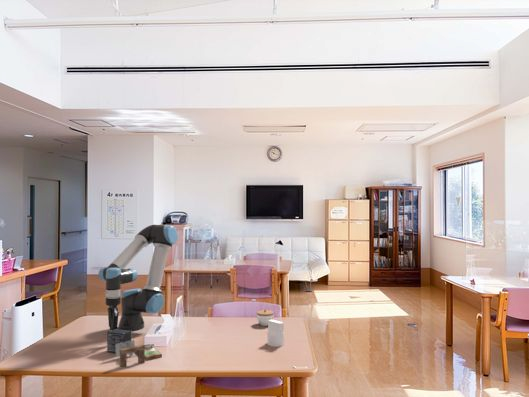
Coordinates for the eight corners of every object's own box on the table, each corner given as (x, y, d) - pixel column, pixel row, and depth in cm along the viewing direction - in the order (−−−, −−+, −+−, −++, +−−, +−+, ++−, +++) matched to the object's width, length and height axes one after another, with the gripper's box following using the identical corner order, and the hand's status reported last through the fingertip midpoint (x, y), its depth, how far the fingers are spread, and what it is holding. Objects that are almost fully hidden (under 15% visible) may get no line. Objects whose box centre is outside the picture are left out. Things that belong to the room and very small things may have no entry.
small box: (132, 350, 216) (132, 330, 216) (123, 355, 210) (124, 333, 210) (115, 348, 220) (115, 328, 220) (106, 352, 214) (106, 331, 214)
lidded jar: (273, 327, 258) (273, 311, 258) (256, 326, 258) (256, 311, 258) (273, 322, 269) (273, 307, 269) (256, 322, 269) (256, 307, 269)
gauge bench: (149, 346, 222) (149, 331, 222) (163, 358, 205) (163, 342, 205) (109, 354, 210) (109, 338, 210) (121, 367, 194) (121, 350, 194)
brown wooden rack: (153, 348, 216) (153, 336, 216) (160, 354, 207) (160, 341, 207) (115, 355, 205) (115, 343, 205) (121, 362, 196) (121, 349, 196)
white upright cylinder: (287, 343, 227) (287, 321, 227) (276, 347, 221) (276, 324, 221) (275, 339, 233) (275, 318, 234) (264, 343, 227) (264, 321, 227)
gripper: (102, 295, 228) (102, 339, 228) (109, 300, 218) (108, 346, 217) (116, 294, 233) (116, 336, 232) (123, 298, 222) (123, 343, 222)
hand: (112, 341), depth 225 cm, fingers closed
